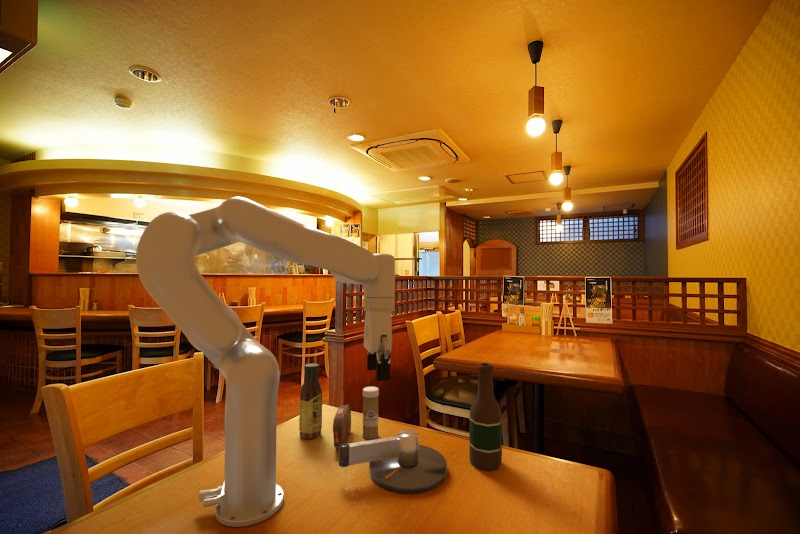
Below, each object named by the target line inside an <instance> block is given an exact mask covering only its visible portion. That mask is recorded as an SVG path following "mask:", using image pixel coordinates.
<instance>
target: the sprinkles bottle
mask: <svg viewBox="0 0 800 534" xmlns="http://www.w3.org/2000/svg"><path fill="white" fill-rule="evenodd" d="M379 395H380V389H379V387H377V386H365V387H364V388H362V402H363V403H362V437H363V439H365V440H375V439H378V436H379Z"/></svg>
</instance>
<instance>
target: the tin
mask: <svg viewBox="0 0 800 534" xmlns="http://www.w3.org/2000/svg"><path fill="white" fill-rule="evenodd" d="M351 429H352V411H351V406H350V404H342V405H339V407H338V408H337V411H336V413H335V415H334V417H333V422H332V433H333V434H332V435H333V445H334V446H333V447H334V448H335V449H339V445H340V444H343V443H347V444H348V442H349V438H350V436H351V435H350V434H351Z"/></svg>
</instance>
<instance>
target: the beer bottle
mask: <svg viewBox="0 0 800 534" xmlns="http://www.w3.org/2000/svg"><path fill="white" fill-rule="evenodd" d="M477 370H478V379H477V380H478V383H477V392H476V393H477V394H476V398H475V399H474V400H473V402H472V403H471V407H470V409H469V418H468V419H469V425H468V427H469V433H468V434H469V437H468V439H469V441H468V442H469V445H468V446H469V448H468V449H469V451H468V452H469V454H468V455H469V462H470V464H471V465H472V466H473V467H474V468H475V469H476V470H481V471H483V472H493V471H498V470H499V469H500V468H501V465H502V461H503V460H502V459H503V458H502V457H503V425H502V424H503V423H502V422H503V421H502V419H503V415H502V414H503V413H502V409H501V405H500V403H499V402H498V401H497V399H496V398H495V394H494V393H495V392H494V381H493V378H494V376H493V370H494V366H493V364H490V363H487V362H486V363H485V362H481V363H479V364H478V366H477Z"/></svg>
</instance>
